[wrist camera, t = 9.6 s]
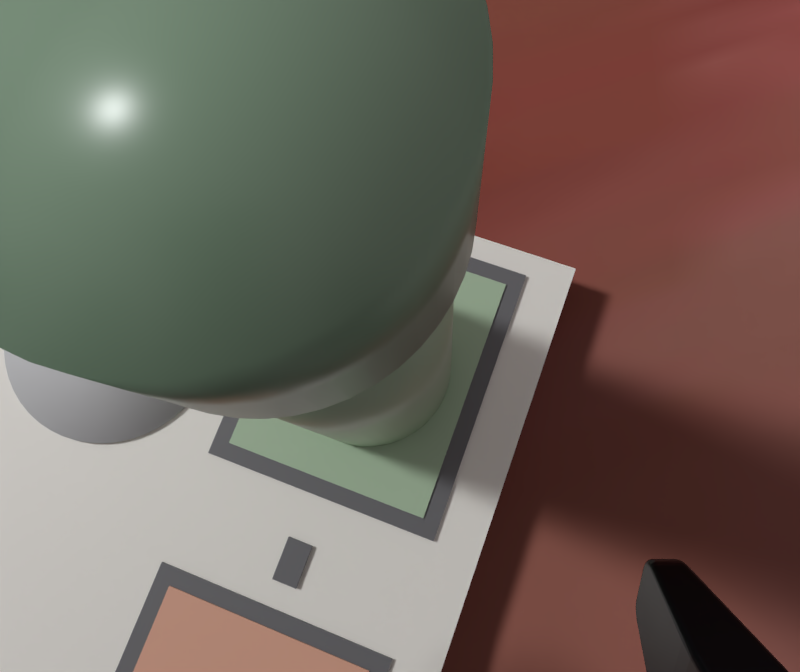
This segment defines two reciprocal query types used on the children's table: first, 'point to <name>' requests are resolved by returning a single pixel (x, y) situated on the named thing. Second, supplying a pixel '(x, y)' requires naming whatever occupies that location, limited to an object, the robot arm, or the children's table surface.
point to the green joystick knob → (244, 200)
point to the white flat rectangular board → (261, 511)
